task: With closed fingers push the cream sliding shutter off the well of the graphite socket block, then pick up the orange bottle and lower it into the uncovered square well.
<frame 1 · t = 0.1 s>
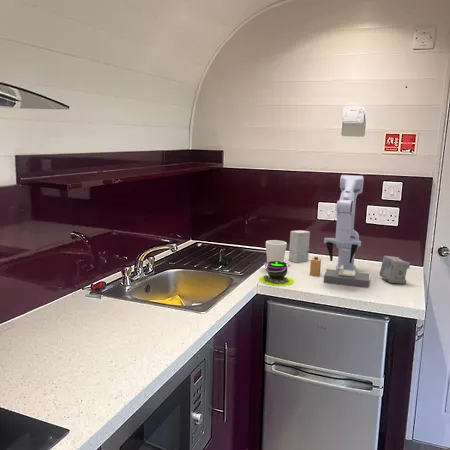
hand: (340, 261, 192), 10 cm above the worktop, fingers open, 7 cm apart
toy cauldron: (276, 281, 198), on the worktop
grey rough block: (393, 281, 202), on the worktop
orange bottle: (314, 274, 208), on the worktop
skincare box: (298, 261, 231), on the worktop
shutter: (347, 270, 198), point 5 cm above the worktop, slide at 0.0 cm
foam cup: (274, 270, 213), on the worktop
socket: (346, 281, 199), on the worktop
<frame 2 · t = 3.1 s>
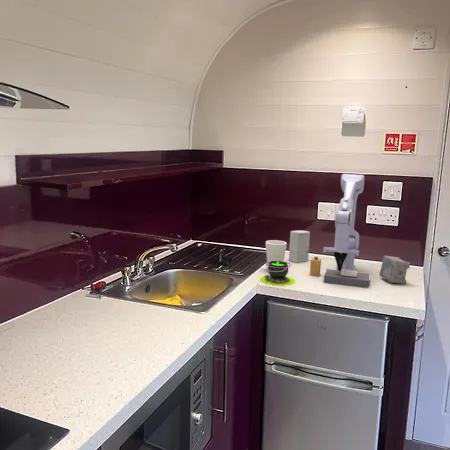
hand: (339, 270, 199), 5 cm above the worktop, fingers closed
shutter: (349, 271, 198), point 5 cm above the worktop, slide at 0.8 cm, touching gripper
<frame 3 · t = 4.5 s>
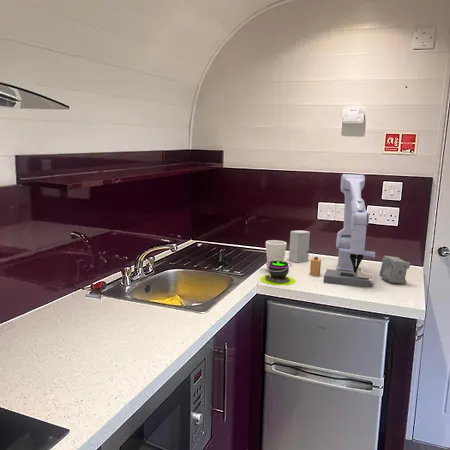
hand: (355, 271, 197), 5 cm above the worktop, fingers closed
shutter: (365, 272, 196), point 5 cm above the worktop, slide at 7.4 cm, touching gripper
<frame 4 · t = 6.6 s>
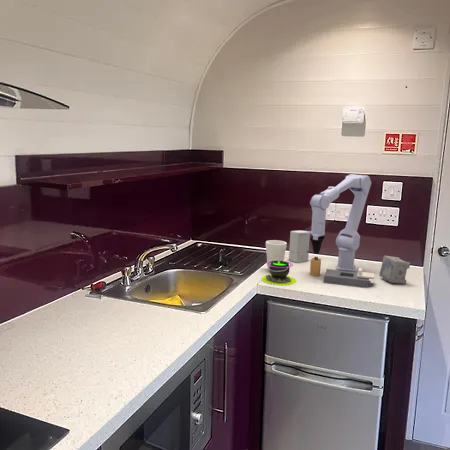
hand: (316, 252, 206), 10 cm above the worktop, fingers closed
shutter: (365, 272, 196), point 5 cm above the worktop, slide at 7.6 cm
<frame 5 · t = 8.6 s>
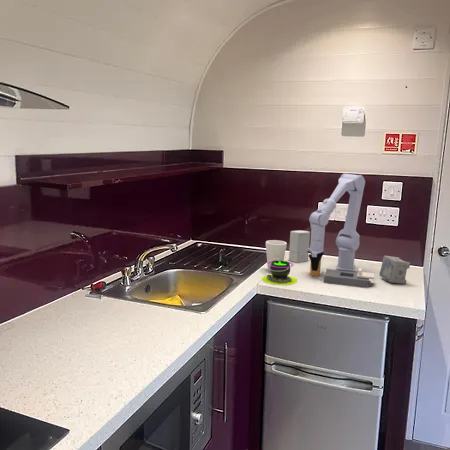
hand: (315, 269, 208), 2 cm above the worktop, fingers closed on orange bottle, 4 cm apart
orange bottle: (315, 274, 208), on the worktop, touching gripper
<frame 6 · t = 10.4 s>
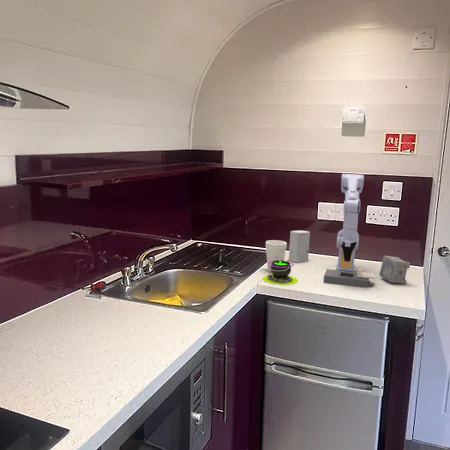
hand: (347, 259, 198), 9 cm above the worktop, fingers closed on orange bottle, 4 cm apart
orange bottle: (345, 266, 198), point 7 cm above the worktop, touching gripper
when the fingers open (4 cm above the worktop, at t = 12.2 s): orange bottle stays where it is, resting in socket.
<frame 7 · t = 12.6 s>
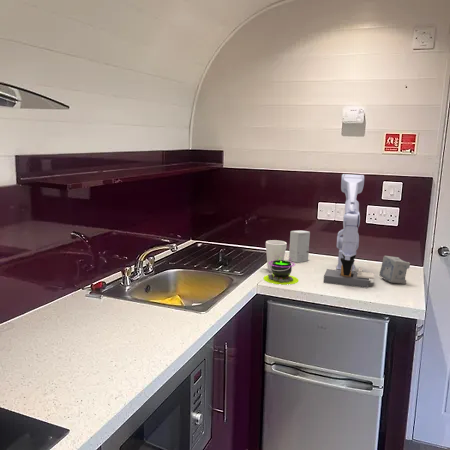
hand: (347, 272, 199), 4 cm above the worktop, fingers open, 7 cm apart
orange bottle: (345, 281, 199), resting in socket
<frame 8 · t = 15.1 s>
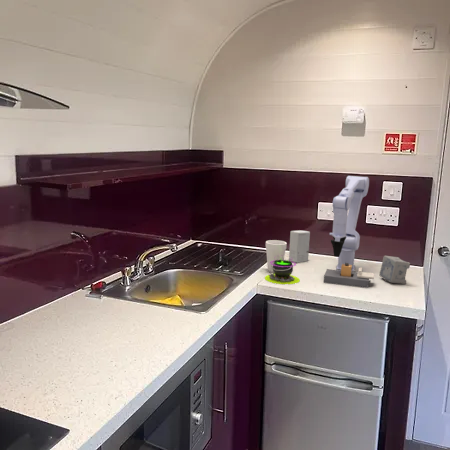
hand: (337, 254, 205), 10 cm above the worktop, fingers open, 7 cm apart
at the end: orange bottle 0.4 cm off-centre on the socket, point 0.0 cm above the socket's base; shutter slide at 7.6 cm; the gripper is holding nothing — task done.
